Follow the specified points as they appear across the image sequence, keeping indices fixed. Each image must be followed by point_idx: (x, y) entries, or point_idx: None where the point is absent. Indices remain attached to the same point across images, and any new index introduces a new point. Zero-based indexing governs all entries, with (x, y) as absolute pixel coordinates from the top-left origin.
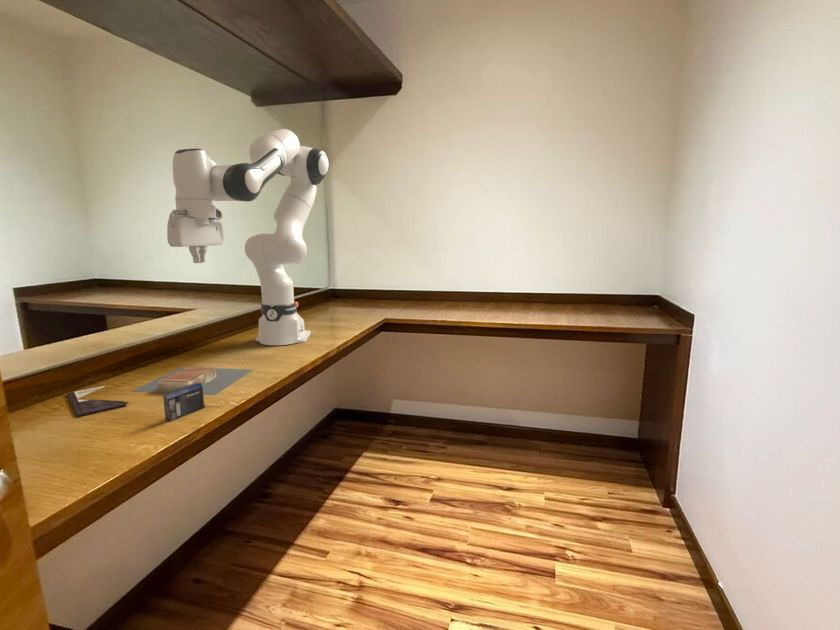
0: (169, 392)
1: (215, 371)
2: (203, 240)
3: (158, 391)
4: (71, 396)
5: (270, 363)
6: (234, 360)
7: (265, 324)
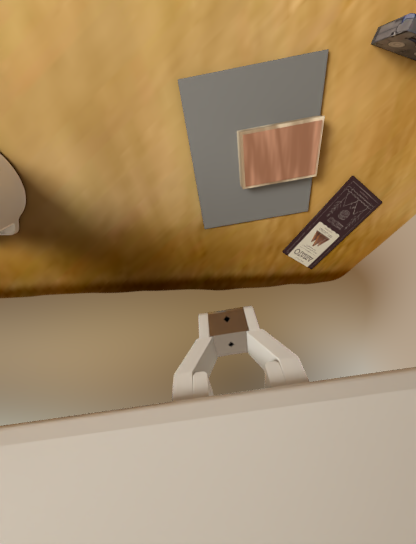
0: None
1: (239, 131)
2: (253, 437)
3: None
4: (321, 257)
5: (115, 80)
6: (135, 180)
7: None
